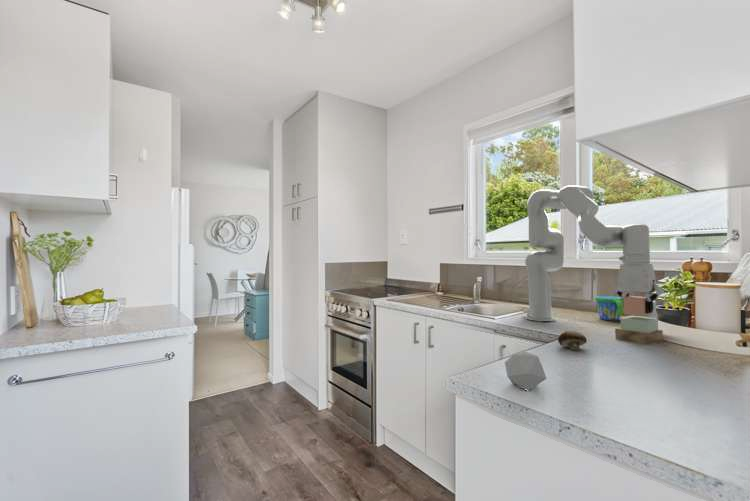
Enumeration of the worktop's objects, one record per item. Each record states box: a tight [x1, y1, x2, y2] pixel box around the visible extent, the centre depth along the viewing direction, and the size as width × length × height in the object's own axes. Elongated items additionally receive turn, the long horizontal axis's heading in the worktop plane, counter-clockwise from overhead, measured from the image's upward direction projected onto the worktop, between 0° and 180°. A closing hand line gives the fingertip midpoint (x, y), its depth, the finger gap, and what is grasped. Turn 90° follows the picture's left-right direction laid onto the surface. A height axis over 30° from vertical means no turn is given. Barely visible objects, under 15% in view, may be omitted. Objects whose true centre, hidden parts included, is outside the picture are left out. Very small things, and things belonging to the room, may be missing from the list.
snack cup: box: [594, 295, 624, 322], centre depth 159 cm, size 16×10×10 cm
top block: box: [620, 315, 659, 333], centre depth 121 cm, size 8×8×4 cm
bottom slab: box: [614, 327, 664, 346], centre depth 122 cm, size 10×10×4 cm
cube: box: [622, 295, 652, 317], centre depth 122 cm, size 6×6×6 cm
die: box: [504, 350, 547, 391], centre depth 81 cm, size 8×9×10 cm
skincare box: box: [640, 300, 658, 319], centre depth 131 cm, size 6×4×12 cm
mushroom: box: [557, 330, 588, 351], centre depth 112 cm, size 8×8×6 cm
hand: (637, 311), depth 122 cm, fingers closed on cube, 5 cm apart
